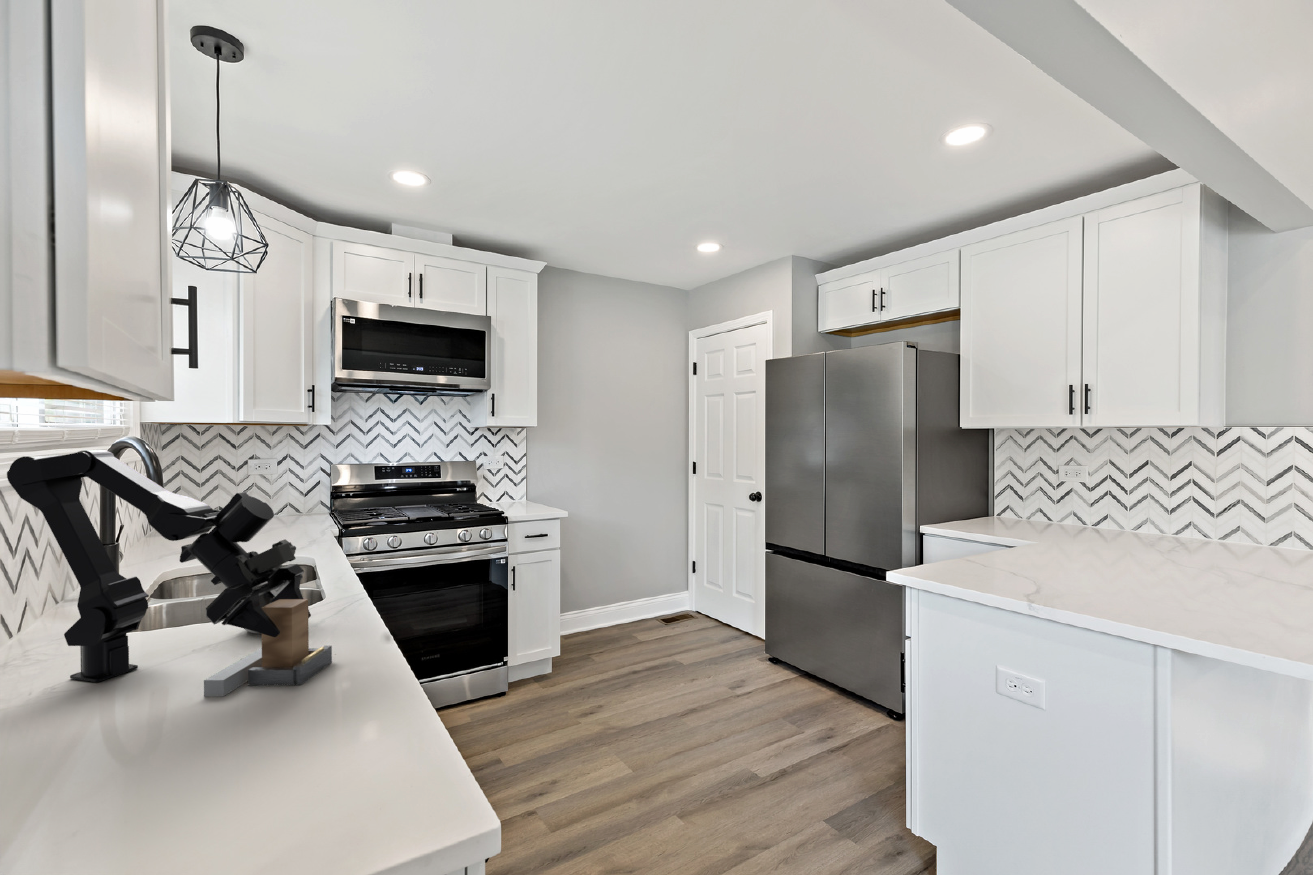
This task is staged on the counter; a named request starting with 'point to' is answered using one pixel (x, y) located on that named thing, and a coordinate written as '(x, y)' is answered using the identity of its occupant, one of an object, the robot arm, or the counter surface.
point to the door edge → (232, 675)
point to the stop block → (286, 633)
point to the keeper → (292, 669)
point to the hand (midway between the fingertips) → (294, 626)
